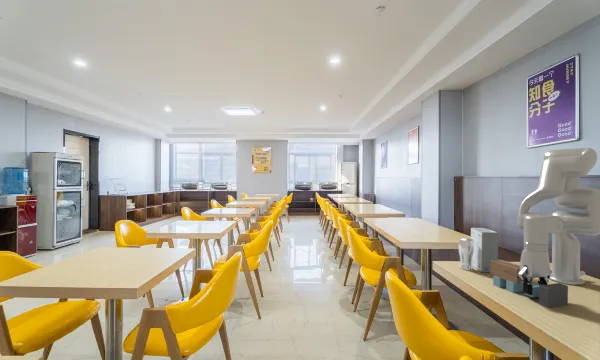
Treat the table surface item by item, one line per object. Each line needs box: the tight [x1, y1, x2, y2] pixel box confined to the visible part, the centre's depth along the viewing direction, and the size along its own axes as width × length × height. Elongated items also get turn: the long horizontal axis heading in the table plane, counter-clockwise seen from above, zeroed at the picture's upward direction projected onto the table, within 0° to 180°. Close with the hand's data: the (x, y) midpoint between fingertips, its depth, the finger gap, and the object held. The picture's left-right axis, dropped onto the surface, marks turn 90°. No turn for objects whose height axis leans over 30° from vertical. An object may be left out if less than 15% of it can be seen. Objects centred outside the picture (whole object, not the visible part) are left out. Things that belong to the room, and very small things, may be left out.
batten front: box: [505, 280, 524, 294], centre depth 122 cm, size 7×3×4 cm, turn 106°
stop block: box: [538, 282, 569, 309], centre depth 108 cm, size 10×3×7 cm, turn 106°
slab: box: [489, 259, 529, 284], centre depth 125 cm, size 6×12×6 cm, turn 16°
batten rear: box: [492, 275, 506, 288], centre depth 128 cm, size 7×3×4 cm, turn 106°
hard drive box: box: [470, 227, 499, 273], centre depth 152 cm, size 16×8×20 cm, turn 168°
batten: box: [523, 282, 541, 298], centre depth 115 cm, size 7×3×4 cm, turn 106°
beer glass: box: [458, 237, 474, 271], centre depth 151 cm, size 7×7×15 cm
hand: (535, 292), depth 115 cm, fingers closed on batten, 7 cm apart
